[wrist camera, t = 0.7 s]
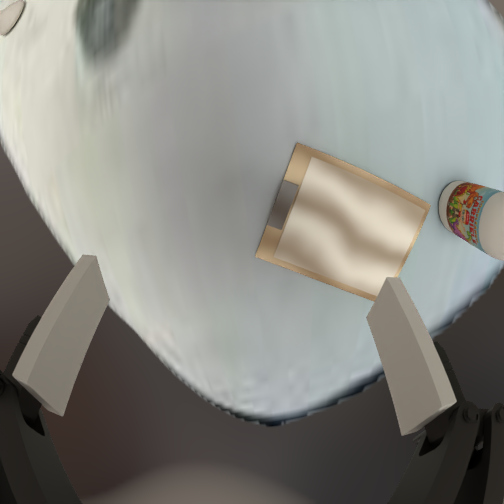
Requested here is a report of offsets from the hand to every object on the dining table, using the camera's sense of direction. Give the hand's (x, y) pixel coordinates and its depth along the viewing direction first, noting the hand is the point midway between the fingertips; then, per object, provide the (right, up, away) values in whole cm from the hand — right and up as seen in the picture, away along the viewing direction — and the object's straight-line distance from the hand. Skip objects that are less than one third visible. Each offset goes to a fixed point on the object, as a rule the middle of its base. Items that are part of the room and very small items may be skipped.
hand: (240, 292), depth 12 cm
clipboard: (+13, +5, +23) cm, 27 cm away
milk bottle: (+30, +8, +19) cm, 37 cm away
